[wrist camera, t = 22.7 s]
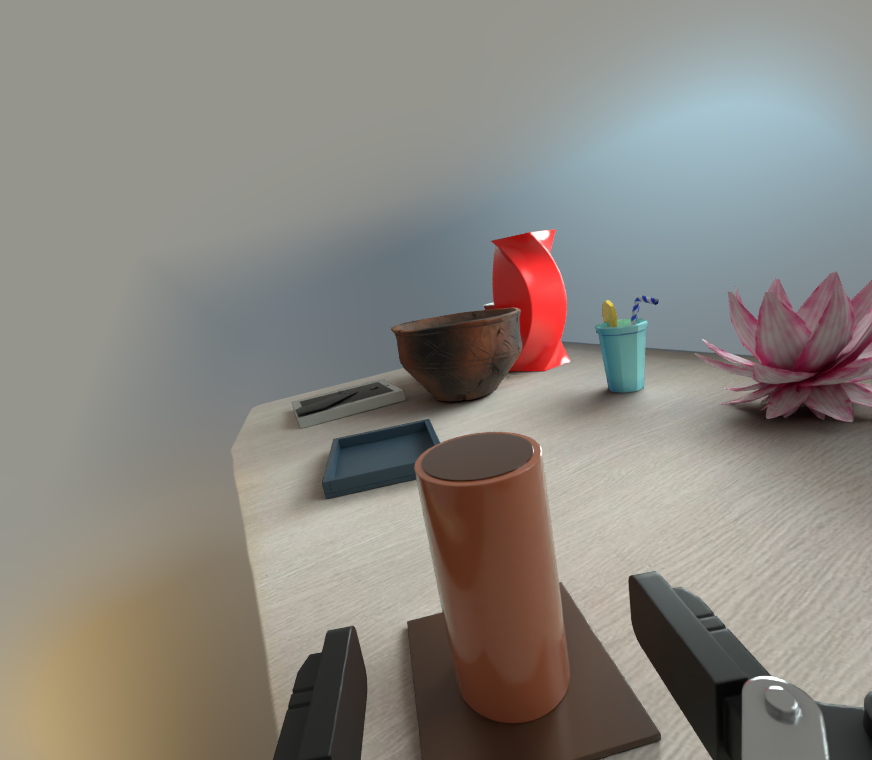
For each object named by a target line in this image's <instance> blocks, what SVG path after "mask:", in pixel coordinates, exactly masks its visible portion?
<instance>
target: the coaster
mask: <svg viewBox="0 0 872 760" xmlns="http://www.w3.org/2000/svg"><path fill="white" fill-rule="evenodd" d="M559 586H560V594H561V602H562V610H563V617H564V625H565V633H566V641H567V649H568V657H569V664H570V682H569V686H568V689H567V691H566V694H565V695H564V697H563V699H562V700H561V702H560V703H559V704H558V705H557V706H556V707H555V708H554V709H553V710H552V711H550V712H549V713H548V714H546V715H544V716H542V717H540V718H538V719H536V720H533V721H530V722H525V723H516V724H511V723H502V722H496V721H493V720H490V719H488V718H486V717H484V716H482V715H480V714H479V713H477V712H476V711H474V710H473V709H472V708H471V707H470V706H469V705H468V704H467V703H466V702H465V700H464V699H463V697H462V696H461V694H460V692H459V690H458V687H457V683H456V679H455V674H454V669H453V664H452V658H451V653H450V648H449V643H448V638H447V633H446V628H445V623H444V618H443V613H438V614H435V615H431V616H427V617H423V618H419V619H415V620H411V621H408V622H407V625H408V634H409V643H410V652H411V661H412V670H413V680H414V689H415V698H416V707H417V716H418V725H419V735H420V744H421V753H422V760H596V759H599V758H603V757H606V756H609V755H613V754H616V753H619V752H623V751H626V750H629V749H632V748H636V747H639V746H642V745H646V744H649V743H652V742H656V741H659V740H661V734H660V732H659V730H658V729H657V727H656V726H655V724H654V723H653V721H652V720H651V718H650V717H649V715H648V714H647V712H646V710H645V709H644V707H643V706H642V704H641V703H640V701H639V700H638V698H637V697H636V695H635V694H634V692H633V691H632V689H631V688H630V686H629V685H628V683H627V681H626V680H625V678H624V677H623V675H622V674H621V672H620V671H619V669H618V668H617V666H616V665H615V663H614V662H613V660H612V659H611V657H610V656H609V654H608V652H607V651H606V649H605V648H604V646H603V645H602V643H601V642H600V640H599V639H598V637H597V636H596V634H595V633H594V631H593V630H592V628H591V626H590V625H589V623H588V622H587V620H586V619H585V617H584V616H583V614H582V613H581V611H580V610H579V608H578V607H577V605H576V604H575V602H574V601H573V599H572V597H571V596H570V594H569V593H568V591H567V590H566V588H565V587H564V585H563V584H562V582H559Z"/></svg>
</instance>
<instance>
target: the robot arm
mask: <svg viewBox="0 0 872 760" xmlns="http://www.w3.org/2000/svg"><path fill="white" fill-rule="evenodd" d="M629 595H630V609H631V621H632V626H633V629H634V633H635V635H636V638H637V640H638V642H639V644H640V646H641V647H642V649H643V650H644V652H645V654H646V655H647V657H648V658H649V660H650V661H651V663H652V665H653V666H654V668H655V669H656V671H657V672H658V674H659V676H660V677H661V679H662V680H663V682H664V684H665V685H666V687H667V688H668V690H669V691H670V693H671V695H672V696H673V698H674V699H675V701H676V702H677V704H678V706H679V707H680V709H681V710H682V712H683V714H684V715H685V717H686V718H687V720H688V721H689V723H690V725H691V726H692V728H693V729H694V731H695V732H696V734H697V736H698V737H699V739H700V740H701V742H702V743H703V745H704V747H705V748H706V750H707V751H708V753H709V755H710V756H711V758H712V759H713V760H872V691H871V692H869V693H868V694H867V695H866V697H865V700H864V708H862V707H853V706H844V705H836V704H827V703H821V702H817V701H814V700H813V699H812V698H811V697H810V696H809V695H808V694H807V693H805V692H804V691H803V690H801V689H800V688H798V687H797V686H795V685H793V684H791V683H789V682H787V681H784V680H781V679H778V678H774V677H772V676H771V675H770V674H769V673H768V672H767V671H766V670H765V668H764V667H763V666H762V665H761V664H760V663H759V662H758V661H757V660H756V659H755V658H754V656H753V655H752V654H751V653H750V652H749V651H748V650H747V649H746V648H745V647H744V646H743V644H742V643H741V642H740V641H739V640H738V639H737V638H736V637H735V636H734V635H733V634H732V632H731V631H730V630H729V629H726V627H725V625H724V624H723V623H722V622H721V620H720V619H719V618H718V617H717V616H715V615H714V613H713V612H712V611H711V610H710V608H709V607H708V606H707V605H706V604H705V603H704V602H703V601H702V600H701V599H700V598H699V597H697V596H696V595H694V594H692V593H691V592H689V591H687V590H686V589H684V588H683V587H677V588H671V587H670V585H669V584H668V583H667V582H666V581H665V580H664V578H663V577H662V576H661V575H660V574H659V573H658V572H656V571H653V572H647V573H642V574H637V575H631V576H630V577H629ZM366 701H367V675H366V669H365V665H364V660H363V656H362V652H361V648H360V644H359V640H358V636H357V632H356V629H355V627H354V626H350V627H344V628H339V629H334V630H329V631H327V633H326V637H325V641H324V646H323V650H322V652H321V653H316V654H311V655H309V657H308V658H307V660H306V661H305V662H304V664H303V665H302V667H301V668H300V670H299V671H298V673H297V677H296V681H295V684H294V688H293V694H292V695H291V698H290V702H289V705H288V710H287V712H286V716H285V719H284V723H283V726H282V730H281V733H280V737H279V740H278V744H277V747H276V751H275V755H274V758H273V760H361V750H362V740H363V730H364V720H365V711H366Z"/></svg>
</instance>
